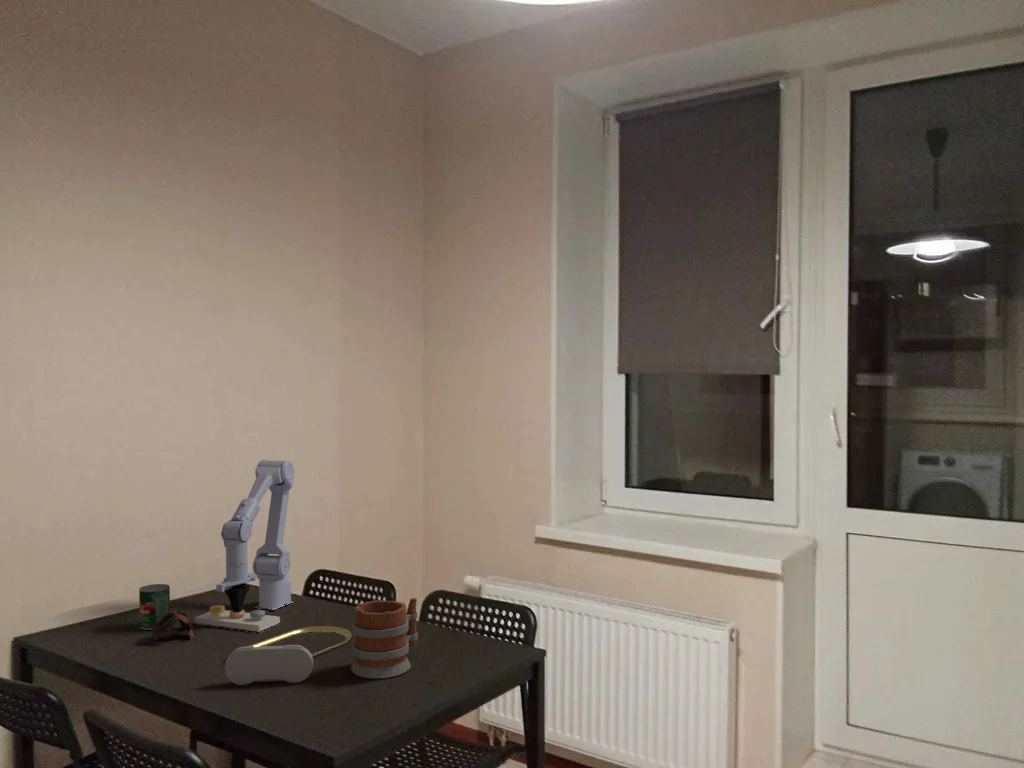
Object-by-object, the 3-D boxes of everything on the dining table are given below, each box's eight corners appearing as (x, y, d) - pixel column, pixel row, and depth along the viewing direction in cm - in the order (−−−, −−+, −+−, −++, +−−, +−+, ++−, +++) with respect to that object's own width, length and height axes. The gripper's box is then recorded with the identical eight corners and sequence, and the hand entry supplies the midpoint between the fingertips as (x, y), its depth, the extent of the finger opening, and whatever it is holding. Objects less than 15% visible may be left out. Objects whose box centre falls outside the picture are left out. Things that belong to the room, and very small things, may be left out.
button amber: (216, 608, 242) (216, 604, 242) (227, 609, 241) (227, 605, 241) (206, 612, 238) (206, 608, 238) (218, 613, 237) (217, 609, 237)
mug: (338, 671, 198) (337, 608, 198) (395, 649, 214) (394, 590, 214) (381, 684, 190) (380, 617, 190) (437, 660, 206) (437, 599, 206)
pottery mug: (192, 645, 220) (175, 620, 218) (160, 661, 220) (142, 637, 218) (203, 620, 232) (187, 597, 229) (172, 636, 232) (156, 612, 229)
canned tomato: (175, 623, 238) (175, 584, 238) (161, 631, 231) (160, 591, 230) (148, 622, 239) (148, 583, 239) (133, 630, 231) (133, 590, 231)
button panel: (216, 616, 245) (216, 609, 245) (279, 623, 237) (279, 616, 237) (194, 624, 237) (194, 617, 237) (259, 632, 229) (259, 625, 229)
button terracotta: (236, 613, 239) (236, 608, 239) (247, 614, 238) (247, 610, 238) (226, 616, 236) (226, 612, 236) (238, 618, 234) (238, 614, 234)
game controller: (313, 679, 194) (313, 643, 194) (312, 682, 192) (312, 646, 192) (226, 682, 192) (226, 646, 192) (224, 686, 190) (224, 649, 190)
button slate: (256, 613, 237) (256, 609, 237) (268, 614, 235) (268, 610, 235) (247, 617, 233) (247, 612, 233) (259, 618, 232) (258, 614, 232)
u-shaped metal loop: (211, 665, 204) (211, 658, 204) (314, 628, 234) (314, 622, 234) (266, 679, 195) (265, 672, 195) (366, 638, 225) (366, 632, 225)
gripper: (242, 557, 245) (242, 603, 245) (207, 567, 231) (207, 617, 232) (262, 558, 242) (262, 606, 242) (228, 569, 229) (228, 619, 229)
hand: (237, 611), depth 237 cm, fingers closed, pressing on button terracotta
